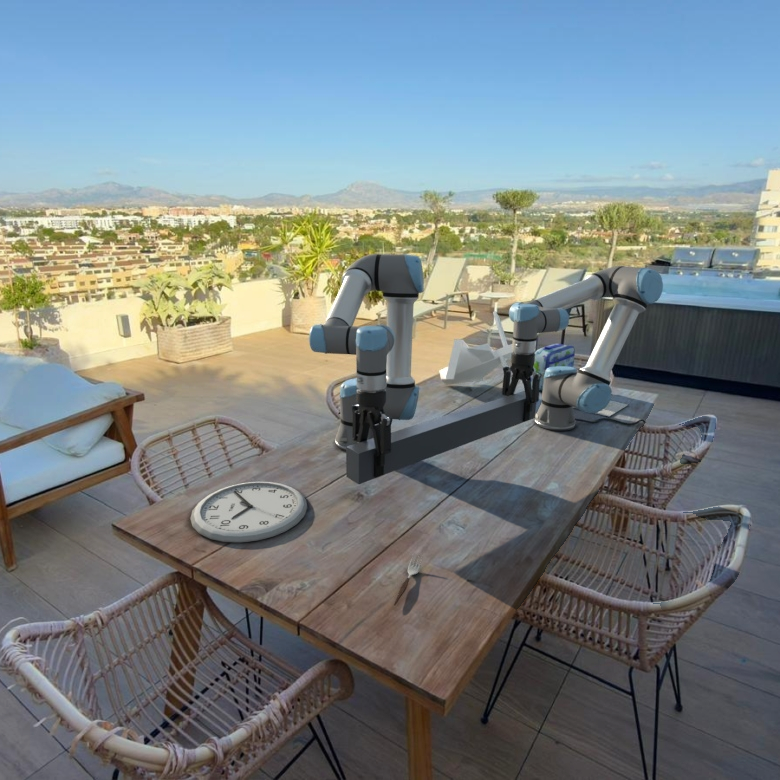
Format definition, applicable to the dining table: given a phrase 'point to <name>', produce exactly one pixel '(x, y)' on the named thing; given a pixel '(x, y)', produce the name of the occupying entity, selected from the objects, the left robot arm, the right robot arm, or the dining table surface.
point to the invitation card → (611, 408)
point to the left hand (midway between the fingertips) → (371, 471)
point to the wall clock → (248, 512)
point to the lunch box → (552, 359)
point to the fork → (412, 571)
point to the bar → (437, 436)
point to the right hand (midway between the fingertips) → (518, 418)
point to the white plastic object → (476, 360)
